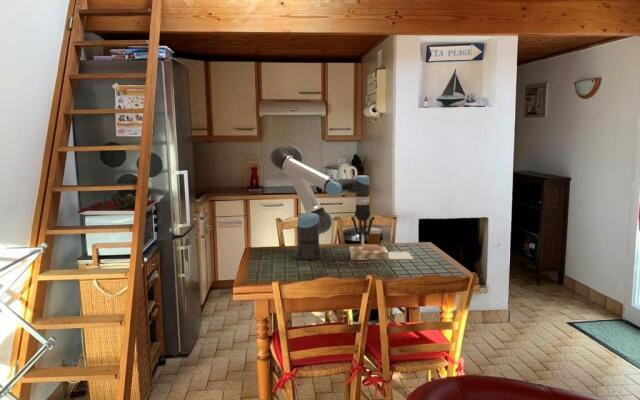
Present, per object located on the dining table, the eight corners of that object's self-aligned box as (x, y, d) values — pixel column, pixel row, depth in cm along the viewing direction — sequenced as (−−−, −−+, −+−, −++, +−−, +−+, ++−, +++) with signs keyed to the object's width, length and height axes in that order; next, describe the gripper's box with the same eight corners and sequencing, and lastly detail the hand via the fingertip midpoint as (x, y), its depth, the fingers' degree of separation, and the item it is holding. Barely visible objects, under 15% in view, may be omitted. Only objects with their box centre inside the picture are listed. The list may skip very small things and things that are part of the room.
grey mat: (389, 259, 257) (389, 258, 257) (385, 252, 272) (385, 251, 272) (413, 259, 258) (413, 258, 258) (408, 252, 273) (408, 251, 272)
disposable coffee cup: (378, 251, 275) (378, 231, 274) (363, 249, 279) (363, 229, 278) (383, 248, 284) (384, 228, 282) (368, 246, 288) (368, 226, 286)
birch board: (351, 259, 258) (351, 252, 257) (349, 253, 271) (349, 246, 271) (388, 259, 258) (388, 252, 257) (384, 253, 272) (384, 246, 271)
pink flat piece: (364, 250, 261) (364, 247, 261) (363, 248, 267) (363, 244, 267) (379, 250, 261) (379, 247, 261) (377, 247, 267) (377, 244, 267)
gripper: (351, 205, 257) (351, 248, 260) (375, 204, 257) (375, 247, 260) (350, 203, 264) (350, 245, 267) (373, 202, 264) (373, 244, 267)
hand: (362, 246), depth 264 cm, fingers closed
